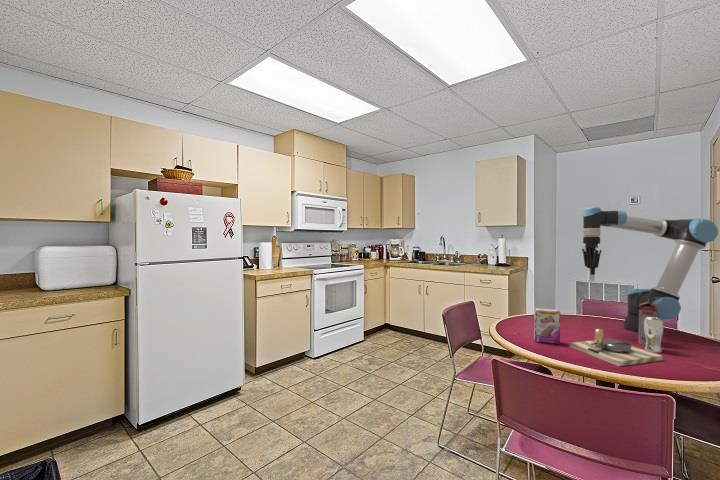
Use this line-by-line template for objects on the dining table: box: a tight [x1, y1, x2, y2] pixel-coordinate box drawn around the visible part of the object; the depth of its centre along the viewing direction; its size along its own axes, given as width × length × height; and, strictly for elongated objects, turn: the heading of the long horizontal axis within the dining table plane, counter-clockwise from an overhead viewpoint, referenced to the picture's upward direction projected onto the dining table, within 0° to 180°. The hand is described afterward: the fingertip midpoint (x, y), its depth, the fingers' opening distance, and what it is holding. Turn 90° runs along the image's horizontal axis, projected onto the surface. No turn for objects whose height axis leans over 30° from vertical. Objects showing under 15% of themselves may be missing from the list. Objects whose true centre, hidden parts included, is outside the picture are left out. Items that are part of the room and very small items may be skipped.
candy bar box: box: [533, 307, 561, 345], centre depth 170 cm, size 11×5×16 cm, turn 71°
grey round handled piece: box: [591, 328, 632, 353], centre depth 154 cm, size 18×12×9 cm, turn 102°
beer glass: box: [644, 317, 664, 354], centre depth 157 cm, size 7×7×15 cm
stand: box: [569, 339, 663, 367], centre depth 154 cm, size 24×24×3 cm
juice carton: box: [638, 298, 657, 346], centre depth 167 cm, size 7×7×22 cm
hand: (591, 280), depth 180 cm, fingers closed
